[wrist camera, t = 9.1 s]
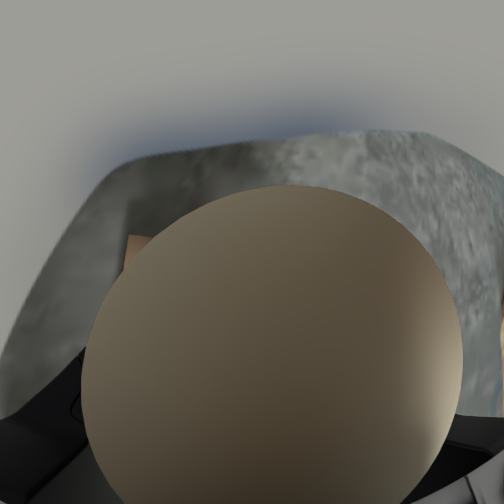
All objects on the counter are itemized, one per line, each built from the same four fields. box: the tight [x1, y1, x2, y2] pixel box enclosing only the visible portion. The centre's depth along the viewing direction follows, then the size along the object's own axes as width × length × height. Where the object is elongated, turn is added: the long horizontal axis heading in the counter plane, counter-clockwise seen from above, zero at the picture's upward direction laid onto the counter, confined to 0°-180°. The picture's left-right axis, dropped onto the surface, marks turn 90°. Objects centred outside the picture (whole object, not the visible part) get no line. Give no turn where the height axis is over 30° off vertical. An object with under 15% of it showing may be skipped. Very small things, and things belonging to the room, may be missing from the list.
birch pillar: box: [81, 185, 463, 504], centre depth 9 cm, size 5×5×13 cm
